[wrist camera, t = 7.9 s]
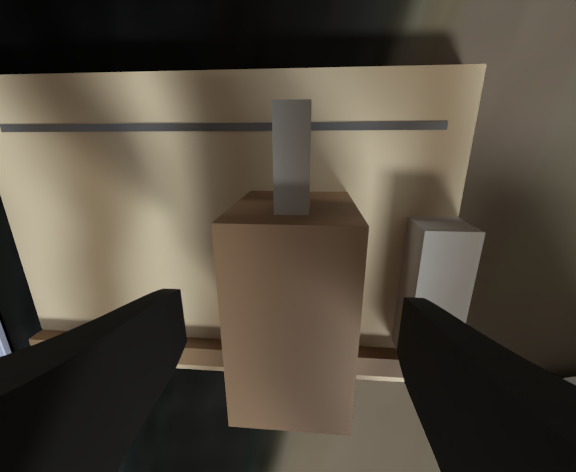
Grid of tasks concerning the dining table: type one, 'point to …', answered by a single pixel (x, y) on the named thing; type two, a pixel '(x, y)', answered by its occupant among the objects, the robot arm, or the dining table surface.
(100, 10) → the dining table surface
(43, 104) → the birch board
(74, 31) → the dining table surface
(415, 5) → the dining table surface
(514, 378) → the robot arm
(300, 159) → the tan block
